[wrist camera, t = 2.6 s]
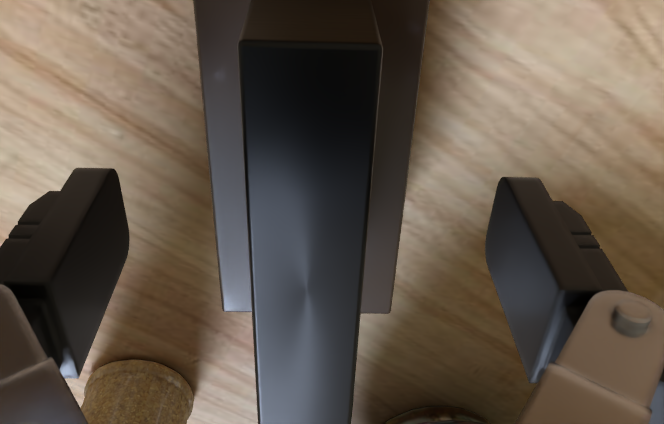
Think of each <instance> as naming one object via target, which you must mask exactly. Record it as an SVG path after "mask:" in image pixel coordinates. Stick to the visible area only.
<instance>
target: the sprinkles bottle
mask: <svg viewBox="0 0 664 424" xmlns="http://www.w3.org/2000/svg"><path fill="white" fill-rule="evenodd" d="M84 396H85V398H84V402H83V404H82V406H81V411H82V412H83V414H84V416H85V418H86V420H87V422H88V424H186V423H187V420H188V418H189V416H190V415H191V412H192V409H193V401H194V397H193V394H192V389H191V388H190V386H189V384H188V383H187V382H186V380H185V379H183V378H182V376H181V375H180V374H178V373H177V372H176V371H174V370H172V369H170V368H168V367H166V366H164V365H162V364H159V363H156V362H151V361H144V360H125V361H116V362H112V363H108V364H106V365H104V366H102V367H99V368H97V370H96V371H95V372H94V373H93V374H92V375H91V376H90V378H89V379H88V381H87V384H86V386H85V390H84Z"/></svg>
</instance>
